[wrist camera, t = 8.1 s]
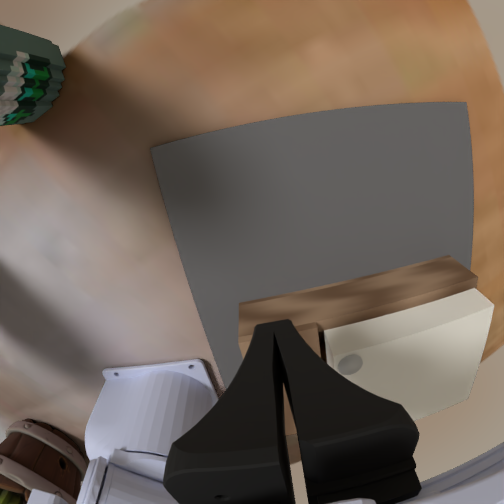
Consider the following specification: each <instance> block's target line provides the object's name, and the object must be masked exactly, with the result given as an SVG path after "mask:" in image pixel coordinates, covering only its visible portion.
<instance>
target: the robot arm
mask: <svg viewBox="0 0 504 504" xmlns="http://www.w3.org/2000/svg"><path fill="white" fill-rule="evenodd" d="M190 365H194V366H190ZM116 372H117V373H116ZM102 374H103V376H104V378H105V379H106V381H105V383H104V386H103V388H102V390H101V393H100V395H99V397H98V399H97V402H96V404H95V406H94V409H93V411H92V414H91V416H90V418H89V421H88V423H87V426H86V431H85V448H86V452H87V455H88V458H89V460H90V463H89V466H88V469H87V471H86V475H85V478H84V481H83V484H82V487H81V490H80V493H79V496H78V500H77V503H76V504H295V498H294V491H293V483H292V477H291V470H290V463H289V456H288V449H287V442H286V434H285V414H284V390H283V383H284V387H285V391H286V394H287V398H288V401H289V405H290V409H291V412H292V416H293V419H294V423H295V427H296V431H297V436H298V441H299V448H300V454H301V460H302V465H303V472H304V478H305V484H306V490H307V497H308V503H309V504H504V442H503V443H501V444H499V445H498V446H496V447H494V448H492V449H491V450H489V451H487V452H485V453H483V454H481V455H480V456H478V457H476V458H474V459H472V460H470V461H468V462H466V463H464V464H462V465H460V466H457V467H455V468H453V469H451V470H449V471H447V472H445V473H442V474H440V475H437V476H435V477H433V478H430V479H428V480H425V481H423V482H419V480H418V477H417V474H416V472H415V468H416V463H415V461H414V459H413V453H414V451H415V447H416V445H417V442H418V439H419V432H418V429H417V427H416V424H415V423H414V421H413V419H412V418H411V416H410V415H409V414H408V412H407V411H406V410H405V408H404V407H403V406H402V405H401V404H399V403H396V402H393V401H390V400H388V399H385V398H382V397H379V396H377V395H375V394H373V393H371V392H369V391H367V390H365V389H363V388H361V387H360V386H358V385H356V384H354V383H353V382H351V381H349V380H348V379H346V378H345V377H344V376H342V375H341V374H339V373H338V372H337V371H335V370H334V369H333V368H332V367H330V366H329V365H328V364H327V363H326V362H325V361H324V360H323V359H321V358H320V357H319V356H318V355H317V354H316V353H315V352H314V351H313V350H312V348H311V347H310V346H309V345H308V344H307V343H306V342H305V340H304V339H303V338H302V337H301V335H300V334H299V333H298V331H297V330H296V328H295V327H294V325H293V323H292V321H291V320H289V319H284V320H279V321H273V322H268V323H262V324H257V325H256V326H255V327H254V332H253V336H252V339H251V342H250V345H249V347H248V350H247V352H246V355H245V357H244V359H243V361H242V363H241V365H240V367H239V369H238V371H237V373H236V375H235V377H234V378H233V380H232V382H231V383H230V385H229V386H228V388H227V389H226V391H225V392H224V393H223V395H222V396H221V397H220V399H219V398H218V396H217V394H216V391H215V389H214V386H213V384H212V381H211V379H210V377H209V374H208V372H207V369H206V367H205V364H204V362H203V361H202V360H200V359H193V360H186V361H178V362H169V363H161V364H151V365H142V366H131V367H119V368H106V369H104V370H103V373H102ZM27 504H68V503H67V502H66V501H65V500H64V499H62V498H61V497H59V496H57V495H55V494H52V493H48V492H45V491H42V490H38V489H32V492H31V494H30V497H29V500H28V502H27Z"/></svg>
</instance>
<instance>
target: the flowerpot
mask: <svg viewBox="0 0 504 504" xmlns="http://www.w3.org/2000/svg"><path fill="white" fill-rule="evenodd" d="M6 437H7V438H6V439H5V440H4V441H3V442H2V443H1V444H0V504H27V502H28V500H29V497H30V494H31V492H32V489H38V490H42V491H45V492H48V493H52V494H55V495H57V496H59V497H61V498H62V499H64V500H65V501H66V502H67V503H68V504H76V503H77V500H78V496H79V493H80V490H81V481H84V478H85V475H86V471H87V466H86V463H85V461H84V457H83V454H82V453H81V452H80V451H79V448H78V446H77V445H76V444H75V443H74V442H73V441H72V440H70V439H69V438H68V437H67V436H65V435H64V434H63V433H61V432H60V431H58V430H56V429H54V430H52V428H51V427H50V426H49V425H47V424H45V423H33V421H32V420H31V419H25V420H22V421H17V422H15V423H13V424H12V425H11V426H10V427H9V428H8V429H7V430H6Z"/></svg>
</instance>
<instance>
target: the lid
mask: <svg viewBox="0 0 504 504" xmlns="http://www.w3.org/2000/svg"><path fill="white" fill-rule="evenodd" d="M493 309H494V304H493V303H491V302H490V301H489V300H488V299H487V298H486V297H485V296H484V295H482V294H481V293H480V292H479V291H478V290H477V289H475V288H473V289H470V290H467V291H464V292H461V293H458V294H455V295H452V296H449V297H446V298H442V299H439V300H436V301H433V302H430V303H426V304H423V305H420V306H416V307H413V308H409V309H406V310H402V311H399V312H395V313H392V314H388V315H384V316H381V317H377V318H373V319H369V320H365V321H361V322H357V323H353V324H349V325H345V326H341V327H337V328H332V329H328V330H324V335H325V346H326V356H327V364H328V365H329V366H330V367H332V368H333V369H334V370H335V371H337V372H338V373H339V374H341V375H342V376H344V377H345V378H346V379H348V380H349V381H351V382H353V383H354V384H356V385H358V386H360V387H361V388H363V389H365V390H367V391H369V392H371V393H373V394H375V395H377V396H379V397H382V398H385V399H388V400H390V401H393V402H396V403H399V404H401V405H402V406H403V407H404V408H405V410H406V411H407V412H408V414H409V415H410V416H411V418H412V419H413V421H416V420H418V419H421V418H424V417H426V416H429V415H431V414H434V413H436V412H439V411H441V410H444V409H446V408H448V407H451V406H453V405H455V404H458V403H460V402H462V401H464V400H467V399H468V397H469V395H470V392H471V389H472V386H473V383H474V380H475V377H476V374H477V371H478V368H479V364H480V361H481V358H482V354H483V351H484V347H485V343H486V339H487V336H488V331H489V327H490V323H491V319H492V314H493Z"/></svg>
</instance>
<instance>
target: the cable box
mask: <svg viewBox="0 0 504 504" xmlns="http://www.w3.org/2000/svg"><path fill="white" fill-rule="evenodd" d="M477 280H478V277H477V276H476V275H475V274H473V273H472V272H471V271H470V270H468V269H467V268H466V267H464V266H463V265H462V264H461V263H459V262H458V261H457V260H455V259H454V258H453V257H451V256H450V255H447V256H443V257H439V258H435V259H432V260H428V261H424V262H420V263H416V264H412V265H408V266H404V267H400V268H396V269H392V270H388V271H384V272H380V273H376V274H372V275H367V276H363V277H359V278H355V279H350V280H346V281H342V282H337V283H333V284H328V285H324V286H319V287H314V288H310V289H305V290H300V291H296V292H291V293H286V294H281V295H276V296H271V297H266V298H261V299H256V300H251V301H246V302H241V303H239V330H238V344H239V347H240V350H241V354H242V357H243V359H244V357H245V355H246V352H247V350H248V347H249V345H250V342H251V339H252V336H253V332H254V327H255V326H256V325H257V324H262V323H268V322H273V321H279V320H284V319H289V320H291V321H292V323H293V325H294V327H295V328H296V330H297V331H298V333H299V334H300V335H301V337H302V338H303V339H304V340H305V342H306V343H307V344H308V345H309V346H310V347H311V348H312V350H313V351H314V352H315V353H316V354H317V355H318V356H319V357H320V358H321V359H323V360H324V361H325V362H326V363H327V356H326V346H325V335H324V330H328V329H332V328H337V327H341V326H345V325H349V324H353V323H357V322H361V321H365V320H369V319H373V318H377V317H381V316H384V315H388V314H392V313H395V312H399V311H402V310H406V309H409V308H413V307H416V306H420V305H423V304H426V303H430V302H433V301H436V300H439V299H442V298H446V297H449V296H452V295H455V294H458V293H461V292H464V291H467V290H470V289H473V288H475V289H476V288H477ZM283 390H284V414H285V434H286V436H287V435H292V434H297V431H296V427H295V423H294V419H293V416H292V412H291V409H290V405H289V401H288V398H287V394H286V391H285V387H284V383H283Z"/></svg>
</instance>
